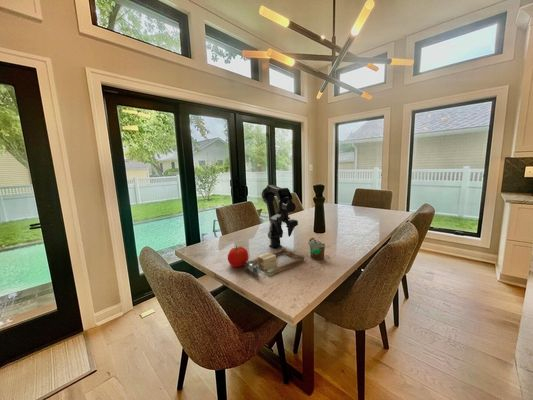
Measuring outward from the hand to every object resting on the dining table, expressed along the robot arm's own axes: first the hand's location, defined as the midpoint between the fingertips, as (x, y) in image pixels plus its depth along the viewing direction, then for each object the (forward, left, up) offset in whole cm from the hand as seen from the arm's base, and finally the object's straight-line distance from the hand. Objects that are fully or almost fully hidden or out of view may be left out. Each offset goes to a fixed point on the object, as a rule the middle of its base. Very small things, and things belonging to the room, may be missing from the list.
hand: (284, 234), depth 133 cm
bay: (+6, -12, -12) cm, 18 cm away
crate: (+6, -18, -12) cm, 23 cm away
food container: (+15, +10, -13) cm, 22 cm away
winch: (+7, -27, -13) cm, 30 cm away
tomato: (-6, -29, -13) cm, 32 cm away
